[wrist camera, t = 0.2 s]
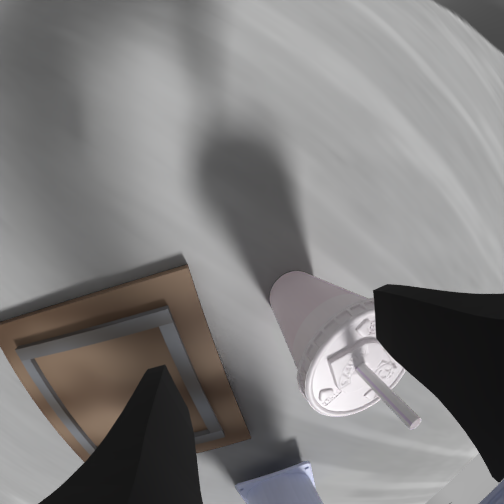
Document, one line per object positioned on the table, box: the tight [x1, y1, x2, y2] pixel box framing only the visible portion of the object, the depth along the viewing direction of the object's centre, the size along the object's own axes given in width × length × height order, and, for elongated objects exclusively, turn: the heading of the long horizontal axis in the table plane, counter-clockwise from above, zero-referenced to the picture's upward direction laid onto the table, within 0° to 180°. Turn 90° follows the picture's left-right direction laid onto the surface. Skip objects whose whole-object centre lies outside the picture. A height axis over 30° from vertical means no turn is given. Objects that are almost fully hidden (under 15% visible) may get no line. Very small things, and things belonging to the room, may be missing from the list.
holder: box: [0, 264, 251, 462], centre depth 20 cm, size 17×17×1 cm
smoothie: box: [269, 271, 421, 430], centre depth 15 cm, size 6×6×14 cm
